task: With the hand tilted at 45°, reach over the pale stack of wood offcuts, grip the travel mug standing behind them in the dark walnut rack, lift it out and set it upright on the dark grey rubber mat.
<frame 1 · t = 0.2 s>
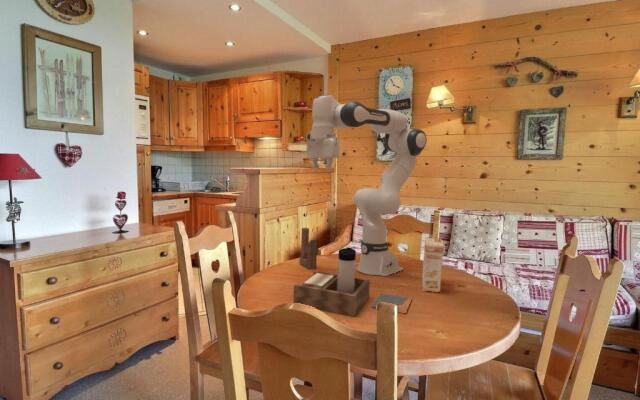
hand: (322, 169, 148), 48 cm above the table, tool pointing down, fingers open, 8 cm apart
rubber mat: (392, 303, 131), on the table
travel mug: (345, 303, 131), resting in walnut rack
brown piece: (307, 266, 174), on the table
walnut rack: (345, 302, 131), on the table
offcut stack: (318, 298, 135), resting in walnut rack
coffeecake box: (430, 287, 152), on the table
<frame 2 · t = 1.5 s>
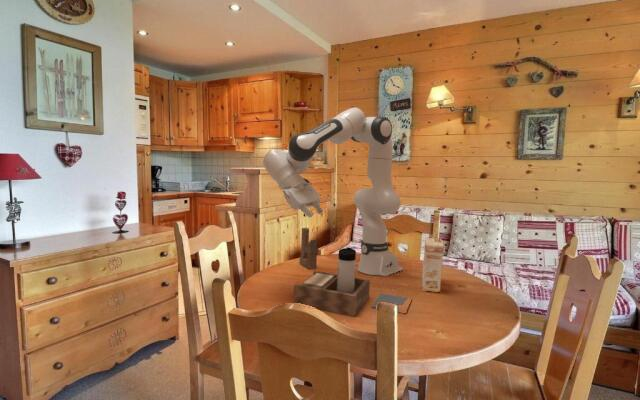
hand: (316, 214, 132), 32 cm above the table, tool tilted 45°, fingers open, 8 cm apart
nothing on the table moved.
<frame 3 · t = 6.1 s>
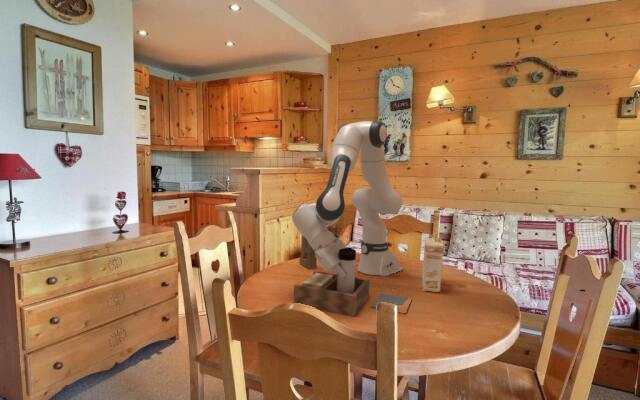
hand: (348, 272, 129), 11 cm above the table, tool tilted 45°, fingers closed on travel mug, 6 cm apart
travel mug: (345, 303, 131), resting in walnut rack, touching gripper
everything else where it was.
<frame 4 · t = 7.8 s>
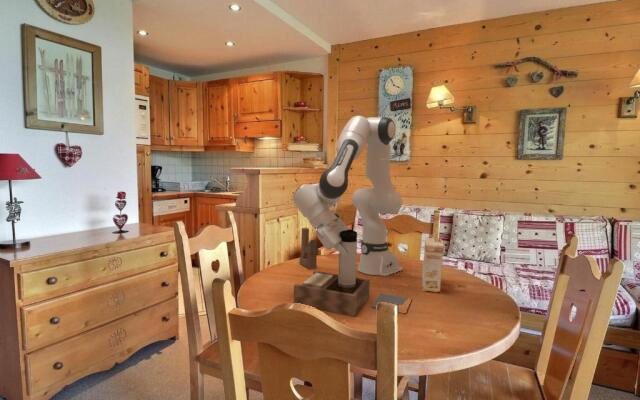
hand: (349, 252, 129), 19 cm above the table, tool tilted 45°, fingers closed on travel mug, 6 cm apart
travel mug: (346, 285, 131), point 6 cm above the table, touching gripper
everything else where it was.
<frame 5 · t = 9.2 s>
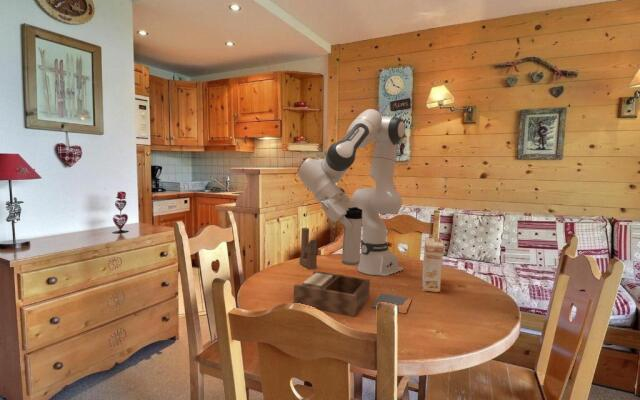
hand: (354, 225, 128), 29 cm above the table, tool tilted 45°, fingers closed on travel mug, 6 cm apart
travel mug: (350, 263, 130), point 15 cm above the table, touching gripper
everything else where it was.
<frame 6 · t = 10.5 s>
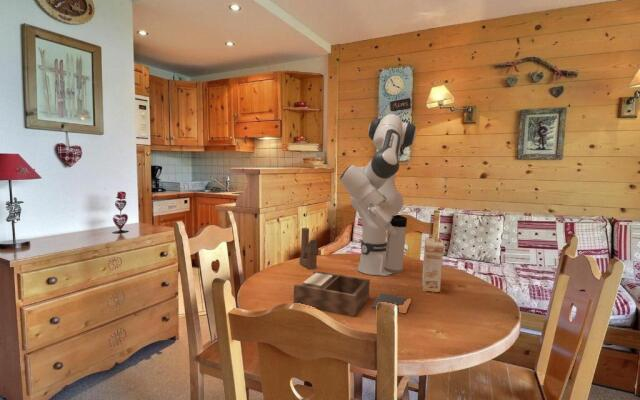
hand: (398, 232, 128), 27 cm above the table, tool tilted 45°, fingers closed on travel mug, 6 cm apart
travel mug: (393, 270, 130), point 12 cm above the table, touching gripper
everything else where it was.
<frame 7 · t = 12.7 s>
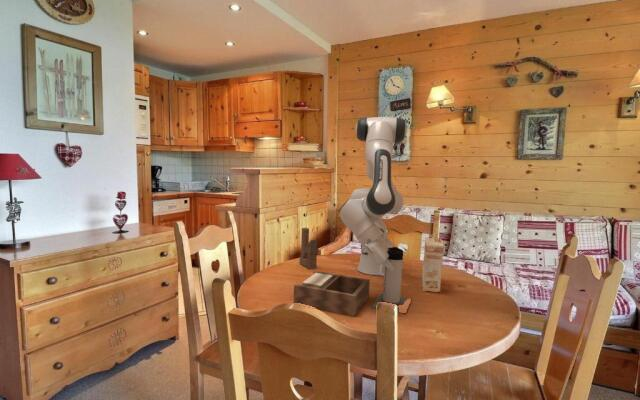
hand: (396, 267, 130), 14 cm above the table, tool tilted 45°, fingers closed on travel mug, 6 cm apart
travel mug: (390, 302, 132), resting on rubber mat, touching gripper
everything else where it was.
when the fingers open (14 cm above the table, at t = 13.4 s): travel mug stays where it is, resting on rubber mat.
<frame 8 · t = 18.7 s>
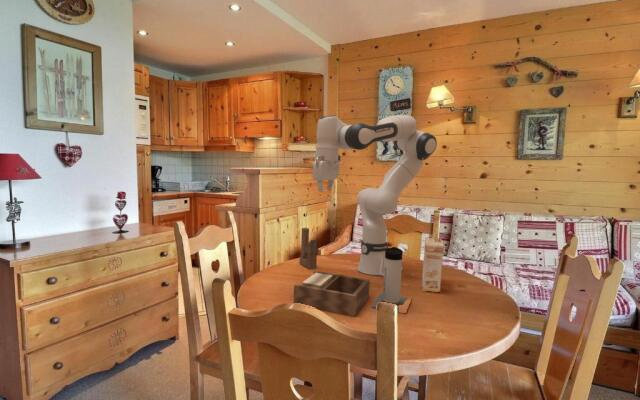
hand: (325, 191, 145), 39 cm above the table, tool pointing down, fingers open, 8 cm apart
travel mug: (390, 302, 132), resting on rubber mat
everything else where it was.
at the end: travel mug inside the target area on the rubber mat (0.6 cm from its centre), point 0.4 cm above the rubber mat's base; travel mug tilted 0°; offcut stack moved 0.6 cm from its start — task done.
